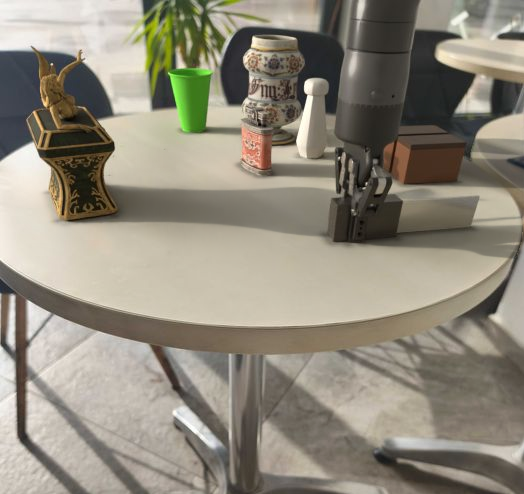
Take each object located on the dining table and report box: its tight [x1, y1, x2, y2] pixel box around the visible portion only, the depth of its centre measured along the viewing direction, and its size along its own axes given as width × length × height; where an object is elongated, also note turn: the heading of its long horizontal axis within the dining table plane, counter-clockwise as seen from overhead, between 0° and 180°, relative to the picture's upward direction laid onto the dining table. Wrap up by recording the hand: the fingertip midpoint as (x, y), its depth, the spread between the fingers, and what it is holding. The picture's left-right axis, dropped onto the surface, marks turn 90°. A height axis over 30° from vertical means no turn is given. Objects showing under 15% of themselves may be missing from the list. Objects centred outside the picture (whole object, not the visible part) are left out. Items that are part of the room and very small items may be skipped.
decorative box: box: [25, 45, 119, 221], centre depth 69 cm, size 20×10×20 cm, turn 25°
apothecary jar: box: [241, 34, 306, 146], centre depth 97 cm, size 12×12×18 cm
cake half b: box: [382, 124, 449, 173], centre depth 89 cm, size 10×5×6 cm, turn 103°
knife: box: [326, 193, 481, 243], centre depth 67 cm, size 21×3×5 cm, turn 103°
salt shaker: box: [295, 77, 330, 159], centre depth 91 cm, size 6×6×13 cm
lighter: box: [240, 104, 273, 177], centre depth 85 cm, size 8×3×10 cm, turn 32°
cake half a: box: [390, 133, 468, 185], centre depth 84 cm, size 10×5×6 cm, turn 103°
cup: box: [167, 67, 214, 134], centre depth 103 cm, size 9×9×11 cm
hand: (351, 235), depth 67 cm, fingers closed on knife, 2 cm apart
